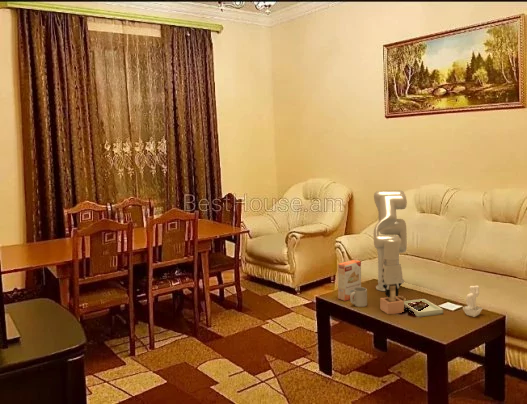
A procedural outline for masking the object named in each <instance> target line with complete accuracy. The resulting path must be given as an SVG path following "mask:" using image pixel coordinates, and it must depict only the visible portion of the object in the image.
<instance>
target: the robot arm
mask: <svg viewBox="0 0 527 404" xmlns="http://www.w3.org/2000/svg"><path fill="white" fill-rule="evenodd" d="M373 200H374V204H375V207H376V208H377V212H378V213H377V214H378V215H377V216H378V217H377V218H378V222H377V223H376V225H375V226H374V228H373V245H374V248H375V249H376V250H377V269H378V270H377V273H378V275H377V278H378V279H377V283H378V284H377V285H375V288H376V289H375V290H377V291H380V292H384V293H385V296H386V297H390V290H389V285H390V284H395V285H396V297H399V289H400V287H401V286H402V285H403V284H404V282H405V280H404V278H403V271H402V265H401V264H400V254H403V253H406V252H407V249H408V248H407V247H408V244H407V243H408V241H407V240H408V239H407V223H406V221H405V219H403V218H397V210H405V209H406V208H407V204H408V201H407V196H406V194H405V191H403V190H400V189H399V190H398V189H397V190H396V189H395V190H388V189H386V190H377V191H376V192H374V194H373ZM380 234H381V235H380Z"/></svg>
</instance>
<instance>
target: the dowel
mask: <svg viewBox="0 0 527 404" xmlns="http://www.w3.org/2000/svg"><path fill="white" fill-rule="evenodd" d="M389 290H390V297H388V302H394V301H396V297H397V296H396V285H395V284H390V285H389Z"/></svg>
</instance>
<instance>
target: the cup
mask: <svg viewBox="0 0 527 404" xmlns="http://www.w3.org/2000/svg"><path fill="white" fill-rule="evenodd" d="M353 296H354V298H353ZM349 301H350V303H351V304H352V305H354V306H355V307H359V308H360V307H361V308H365V307H367V305H368V289H367V288H366V287H363V286H361V287H357V288H354V292H352V293H351V295H350V299H349Z"/></svg>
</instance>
